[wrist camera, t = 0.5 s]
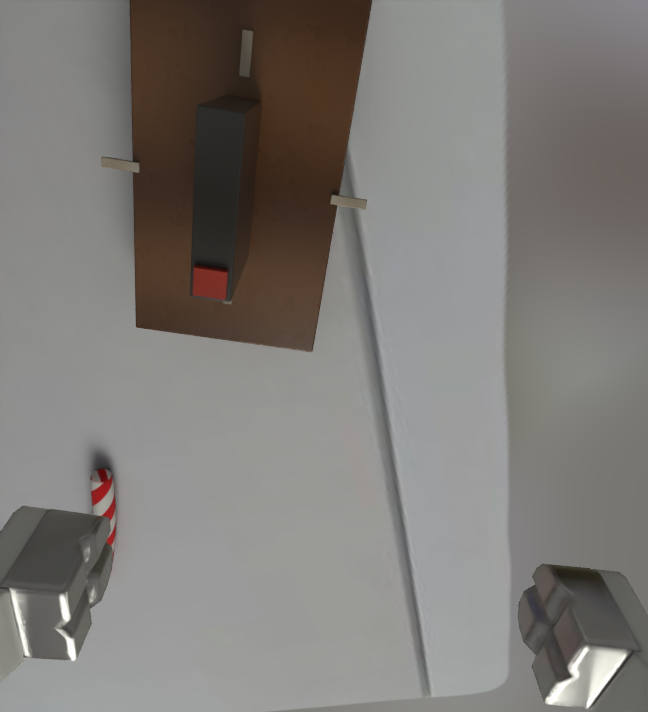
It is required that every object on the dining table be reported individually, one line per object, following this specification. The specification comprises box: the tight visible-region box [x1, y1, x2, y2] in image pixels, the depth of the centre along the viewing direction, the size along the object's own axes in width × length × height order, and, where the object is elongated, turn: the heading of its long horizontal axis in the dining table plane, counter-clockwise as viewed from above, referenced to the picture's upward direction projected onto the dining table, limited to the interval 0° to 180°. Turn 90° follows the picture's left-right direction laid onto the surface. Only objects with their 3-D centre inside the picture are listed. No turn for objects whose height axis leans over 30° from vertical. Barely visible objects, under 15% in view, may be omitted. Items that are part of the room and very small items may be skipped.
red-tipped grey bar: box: [190, 95, 262, 302], centre depth 18 cm, size 6×1×5 cm, turn 171°
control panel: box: [101, 0, 372, 352], centre depth 22 cm, size 14×10×3 cm
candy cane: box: [90, 469, 116, 562], centre depth 34 cm, size 8×1×15 cm
